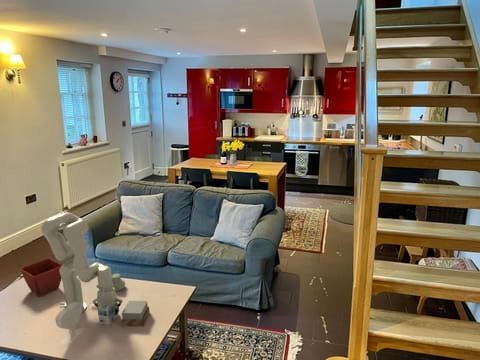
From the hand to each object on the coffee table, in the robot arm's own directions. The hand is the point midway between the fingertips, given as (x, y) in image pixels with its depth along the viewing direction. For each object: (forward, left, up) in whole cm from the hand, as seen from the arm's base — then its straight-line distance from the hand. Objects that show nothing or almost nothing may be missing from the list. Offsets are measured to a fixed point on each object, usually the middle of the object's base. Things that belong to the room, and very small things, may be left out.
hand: (108, 313), depth 209 cm
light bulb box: (0, 0, -4) cm, 4 cm away
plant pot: (-55, +31, -4) cm, 63 cm away
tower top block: (+15, 0, 0) cm, 16 cm away
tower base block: (+16, 0, -4) cm, 16 cm away
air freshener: (-7, +33, -4) cm, 34 cm away
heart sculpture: (-15, -15, -4) cm, 22 cm away
